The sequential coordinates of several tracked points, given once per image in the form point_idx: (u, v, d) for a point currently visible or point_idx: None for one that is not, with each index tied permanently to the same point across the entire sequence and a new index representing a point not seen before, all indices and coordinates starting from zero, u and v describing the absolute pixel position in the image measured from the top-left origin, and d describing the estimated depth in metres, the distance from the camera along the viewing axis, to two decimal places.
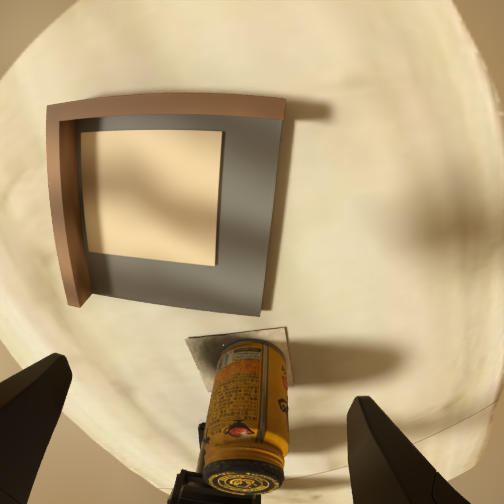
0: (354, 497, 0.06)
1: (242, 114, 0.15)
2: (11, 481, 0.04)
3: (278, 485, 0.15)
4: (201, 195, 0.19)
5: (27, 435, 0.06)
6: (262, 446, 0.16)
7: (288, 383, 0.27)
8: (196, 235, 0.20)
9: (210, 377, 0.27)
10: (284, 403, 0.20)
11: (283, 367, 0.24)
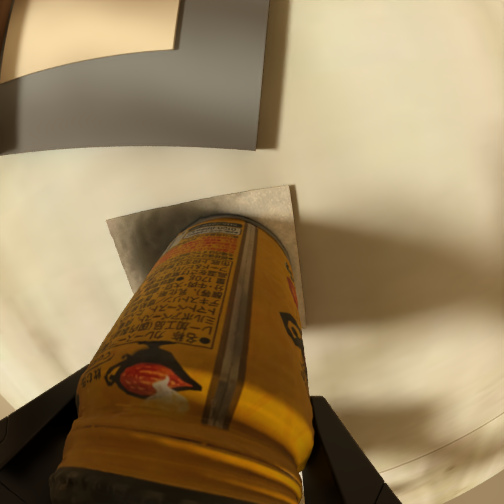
0: (306, 500, 0.06)
1: None
2: (48, 502, 0.04)
3: None
4: None
5: None
6: (226, 438, 0.04)
7: None
8: (148, 6, 0.09)
9: None
10: (296, 328, 0.09)
11: (288, 267, 0.12)
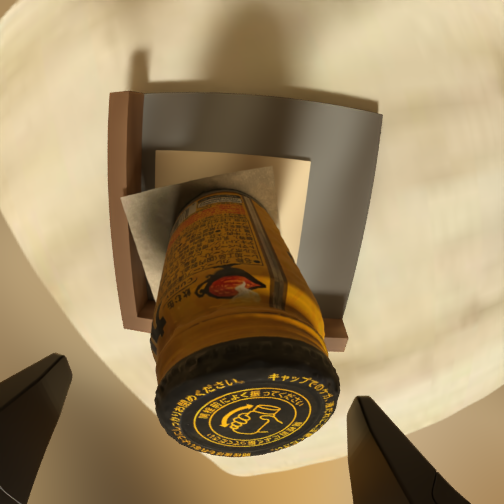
0: (354, 497, 0.06)
1: (125, 130, 0.14)
2: (11, 481, 0.04)
3: (330, 412, 0.08)
4: (223, 171, 0.17)
5: (27, 435, 0.06)
6: (287, 313, 0.08)
7: None
8: None
9: (159, 273, 0.18)
10: (295, 263, 0.13)
11: None
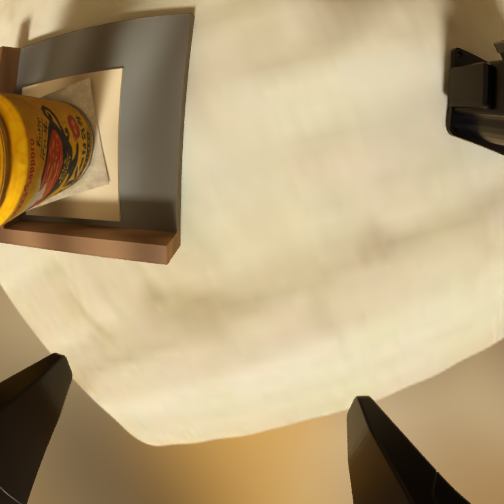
0: (354, 497, 0.06)
1: None
2: (11, 481, 0.04)
3: None
4: None
5: (27, 435, 0.06)
6: None
7: (101, 181, 0.18)
8: None
9: None
10: (54, 118, 0.11)
11: (80, 119, 0.14)
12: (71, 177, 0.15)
